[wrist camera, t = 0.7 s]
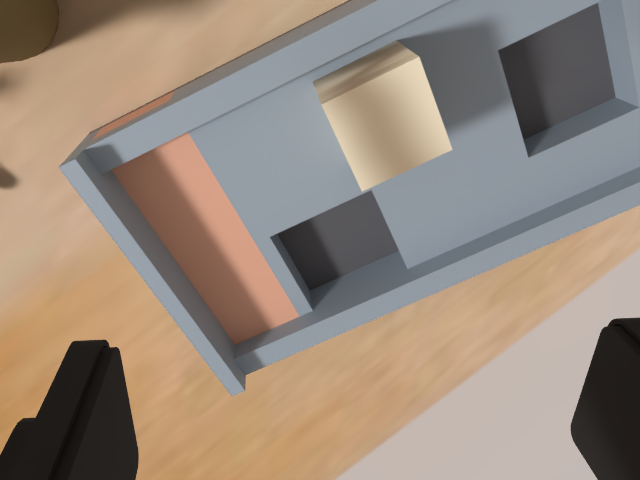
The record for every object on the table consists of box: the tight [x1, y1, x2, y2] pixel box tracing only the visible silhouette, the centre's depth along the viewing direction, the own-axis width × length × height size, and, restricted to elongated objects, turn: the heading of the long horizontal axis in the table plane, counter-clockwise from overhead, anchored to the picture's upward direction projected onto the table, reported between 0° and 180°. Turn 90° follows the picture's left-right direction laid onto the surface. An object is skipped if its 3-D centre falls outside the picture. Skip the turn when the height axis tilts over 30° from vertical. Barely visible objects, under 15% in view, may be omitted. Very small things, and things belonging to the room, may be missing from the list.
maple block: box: [312, 40, 453, 191], centre depth 29 cm, size 5×5×5 cm
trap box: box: [59, 0, 640, 396], centre depth 33 cm, size 32×18×6 cm, turn 115°
